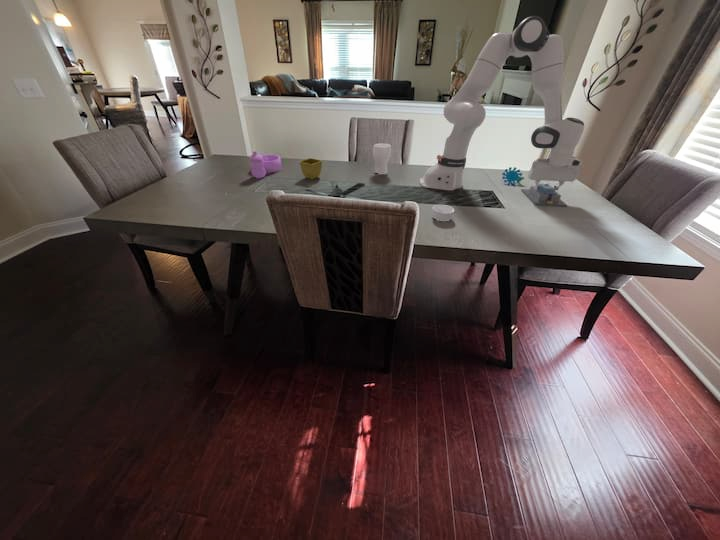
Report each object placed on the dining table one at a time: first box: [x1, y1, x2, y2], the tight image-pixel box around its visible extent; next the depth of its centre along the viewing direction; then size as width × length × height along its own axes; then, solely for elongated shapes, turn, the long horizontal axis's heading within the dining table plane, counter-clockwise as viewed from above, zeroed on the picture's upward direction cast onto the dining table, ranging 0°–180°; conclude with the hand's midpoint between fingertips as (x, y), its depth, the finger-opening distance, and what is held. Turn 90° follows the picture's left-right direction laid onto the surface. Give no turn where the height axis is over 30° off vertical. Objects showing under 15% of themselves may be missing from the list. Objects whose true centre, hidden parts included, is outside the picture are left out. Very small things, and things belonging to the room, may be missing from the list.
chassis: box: [520, 185, 568, 208], centre depth 135 cm, size 14×18×4 cm
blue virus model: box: [501, 166, 525, 186], centre depth 152 cm, size 11×6×10 cm
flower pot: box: [299, 157, 323, 180], centre depth 153 cm, size 9×9×9 cm
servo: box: [538, 182, 556, 200], centre depth 134 cm, size 4×10×6 cm, turn 174°
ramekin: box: [431, 204, 455, 221], centre depth 117 cm, size 9×9×4 cm
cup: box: [372, 142, 393, 175], centre depth 159 cm, size 11×11×15 cm
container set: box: [248, 151, 283, 179], centre depth 159 cm, size 25×15×13 cm, turn 174°
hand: (546, 189), depth 134 cm, fingers open, 7 cm apart
